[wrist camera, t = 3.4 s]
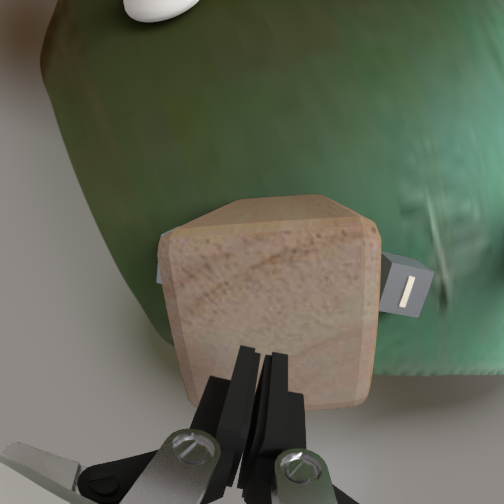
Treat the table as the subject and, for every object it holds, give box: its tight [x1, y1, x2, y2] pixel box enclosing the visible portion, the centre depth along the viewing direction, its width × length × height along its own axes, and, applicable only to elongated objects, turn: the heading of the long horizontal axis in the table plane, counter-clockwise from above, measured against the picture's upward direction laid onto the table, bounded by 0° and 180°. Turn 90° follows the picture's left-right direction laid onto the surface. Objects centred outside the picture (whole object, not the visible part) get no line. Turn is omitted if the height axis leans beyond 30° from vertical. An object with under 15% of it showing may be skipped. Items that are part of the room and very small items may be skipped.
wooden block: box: [157, 194, 381, 411], centre depth 23 cm, size 10×10×20 cm
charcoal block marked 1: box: [379, 251, 434, 318], centre depth 29 cm, size 5×5×5 cm
